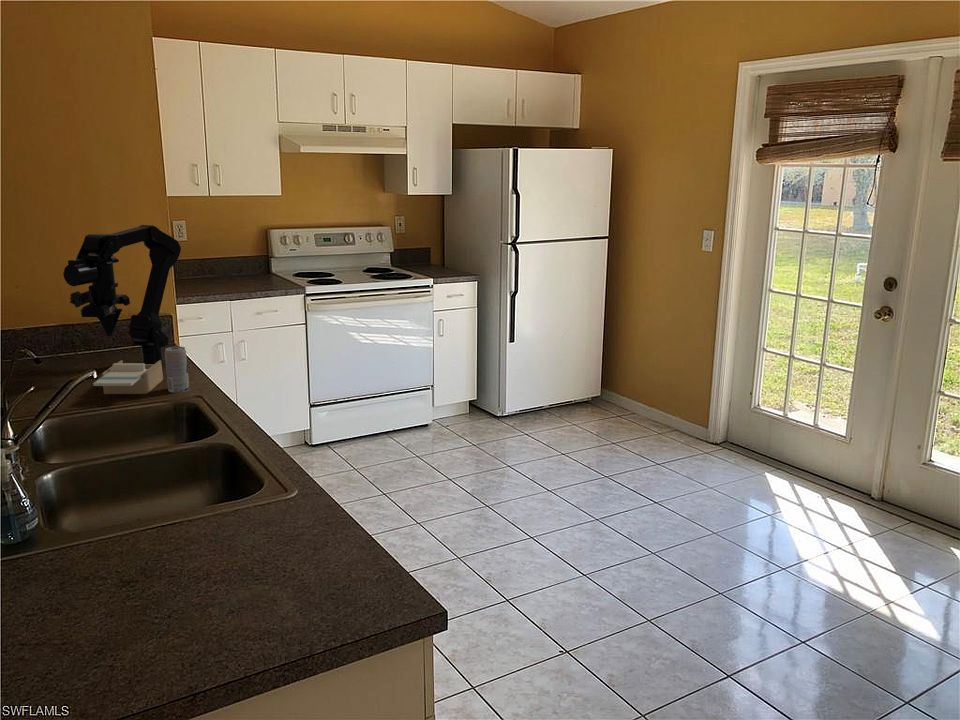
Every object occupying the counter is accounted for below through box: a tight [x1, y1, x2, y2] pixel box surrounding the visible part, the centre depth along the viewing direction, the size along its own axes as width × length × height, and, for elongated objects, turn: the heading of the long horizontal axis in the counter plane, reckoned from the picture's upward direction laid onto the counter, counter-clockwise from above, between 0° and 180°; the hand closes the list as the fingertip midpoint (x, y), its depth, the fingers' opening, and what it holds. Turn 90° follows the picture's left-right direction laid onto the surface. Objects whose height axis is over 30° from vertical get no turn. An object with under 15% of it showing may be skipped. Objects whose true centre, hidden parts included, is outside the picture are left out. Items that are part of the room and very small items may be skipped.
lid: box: [92, 362, 148, 387], centre depth 202 cm, size 13×9×2 cm
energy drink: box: [164, 346, 190, 394], centre depth 208 cm, size 5×5×12 cm
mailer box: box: [101, 359, 164, 395], centre depth 210 cm, size 13×11×6 cm
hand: (109, 335), depth 216 cm, fingers closed
